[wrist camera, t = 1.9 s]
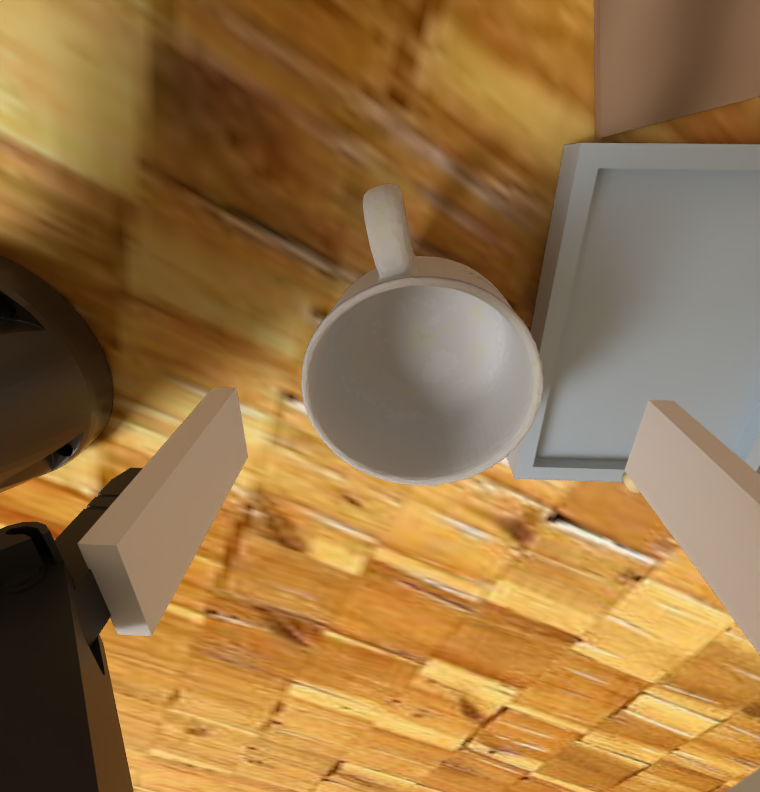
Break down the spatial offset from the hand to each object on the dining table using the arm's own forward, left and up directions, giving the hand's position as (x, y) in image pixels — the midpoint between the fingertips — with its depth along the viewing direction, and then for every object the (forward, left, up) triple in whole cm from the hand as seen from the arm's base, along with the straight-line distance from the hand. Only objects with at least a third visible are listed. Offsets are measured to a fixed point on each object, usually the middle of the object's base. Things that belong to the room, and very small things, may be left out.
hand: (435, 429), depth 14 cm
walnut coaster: (+11, +13, -13) cm, 22 cm away
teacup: (0, 0, -13) cm, 13 cm away
